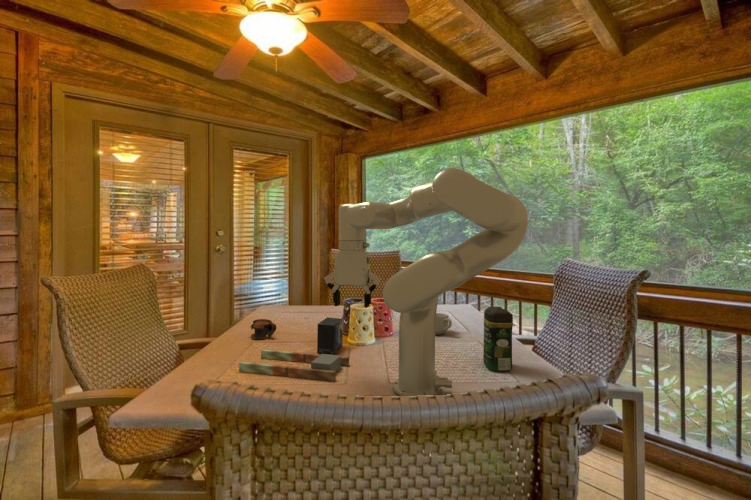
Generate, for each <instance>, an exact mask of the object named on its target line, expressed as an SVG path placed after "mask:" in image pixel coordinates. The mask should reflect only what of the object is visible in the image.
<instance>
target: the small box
mask: <svg viewBox="0 0 751 500" xmlns="http://www.w3.org/2000/svg"><path fill="white" fill-rule="evenodd" d="M343 321H344V318H338V317H337V318H336V317H326V318H324V319H323V320H321V321H320V322H318V323H317V334H316V335H317V336H316V337H317V340H316V343H317V346H316V348H317V349H316V354H319V355H322V354H329V355H336V353H337V352H338V351H339V350H340V349H341V348H342V347H343V330H344V329H343V326H344V325H343V324H344V323H343Z"/></svg>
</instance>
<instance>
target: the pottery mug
mask: <svg viewBox="0 0 751 500" xmlns="http://www.w3.org/2000/svg"><path fill="white" fill-rule="evenodd" d="M250 328H251V329H250V330H254V333H251V334H250V338H251V341H252V340H253V341H254V340H265V341H266V339H267V337H268V338H270V337H272V336H273V334H274V333H275V332H276V330H277V325H276V324H275V323H274V322H273V321H272V320H271V319H265V318H261V319H254V320H253V321H252V324H251V325H250Z"/></svg>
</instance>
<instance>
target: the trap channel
mask: <svg viewBox="0 0 751 500" xmlns="http://www.w3.org/2000/svg"><path fill="white" fill-rule="evenodd" d="M320 355H321V354H317V353H316V354H315V353H308V352H307V353H305V352H295V351H284V350H283V351H282V350H272V349H261V350H260V358H261V359H268V360H276V361H277V360H279V361H288V362H298V363H299V362H301V363H308V364H311V362H312V361H314V360H315V359H316V358H318V357H319V356H320ZM340 356H341V355H340ZM349 366H350V357H349V356H341V367H349ZM238 367H239V368H238V371H239V372H240V373H242V372H243V373H252V374H253V373H254V374H261V375H262V374H263V375H271V376H280V377H289V378H290V377H291V378H300V379H309V380H318V381H327V382H335V381H336V379H337V377H336V376H337V372H336V371H331V370H320V369H311V367H309V368H307V367H299V366H291V365H290V366H288V365H279V364H267V363H256V362H249V361H248V362H246V361H240V362H239V363H238Z"/></svg>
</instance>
